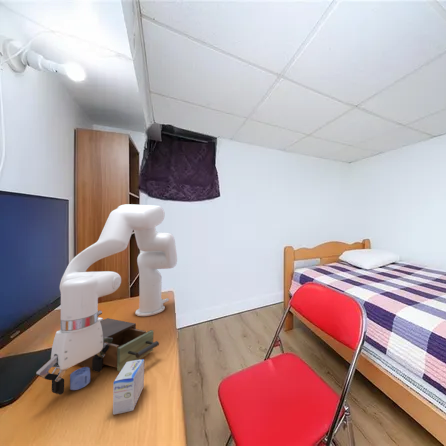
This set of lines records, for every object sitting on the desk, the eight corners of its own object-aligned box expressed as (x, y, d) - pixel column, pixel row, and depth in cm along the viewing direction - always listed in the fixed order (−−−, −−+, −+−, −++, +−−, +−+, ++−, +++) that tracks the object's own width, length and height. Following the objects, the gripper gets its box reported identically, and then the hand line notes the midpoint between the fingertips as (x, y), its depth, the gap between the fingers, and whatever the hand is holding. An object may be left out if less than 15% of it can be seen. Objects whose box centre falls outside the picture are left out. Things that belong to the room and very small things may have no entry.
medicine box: (125, 391, 60) (125, 361, 60) (144, 387, 62) (144, 358, 62) (112, 416, 53) (112, 381, 53) (134, 410, 54) (134, 377, 54)
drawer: (164, 352, 76) (164, 332, 76) (132, 375, 65) (132, 351, 65) (125, 343, 81) (125, 324, 81) (89, 363, 70) (89, 341, 70)
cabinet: (135, 347, 81) (135, 323, 81) (96, 369, 69) (96, 341, 68) (107, 340, 85) (107, 318, 84) (65, 361, 72) (65, 334, 72)
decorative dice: (70, 393, 59) (70, 378, 59) (70, 385, 62) (70, 371, 62) (90, 385, 62) (90, 371, 62) (89, 377, 65) (89, 364, 65)
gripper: (104, 308, 71) (103, 360, 71) (27, 334, 54) (26, 402, 55) (121, 310, 69) (120, 364, 69) (46, 339, 52) (45, 409, 53)
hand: (79, 380), depth 62 cm, fingers open, 8 cm apart
